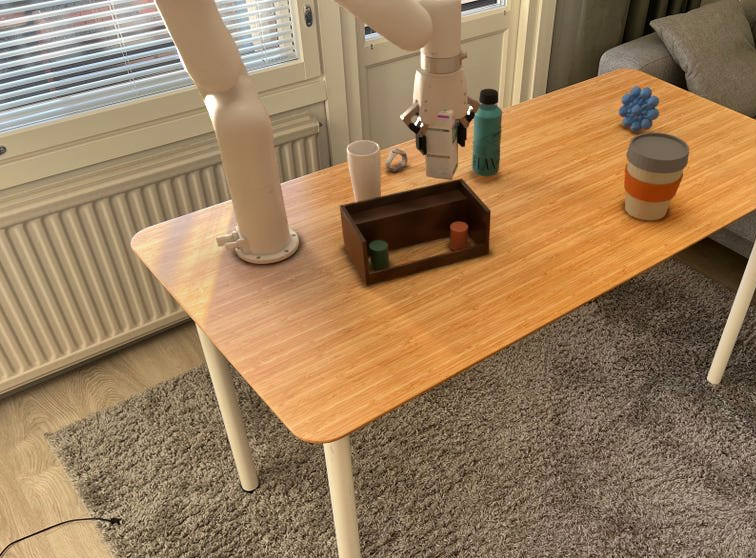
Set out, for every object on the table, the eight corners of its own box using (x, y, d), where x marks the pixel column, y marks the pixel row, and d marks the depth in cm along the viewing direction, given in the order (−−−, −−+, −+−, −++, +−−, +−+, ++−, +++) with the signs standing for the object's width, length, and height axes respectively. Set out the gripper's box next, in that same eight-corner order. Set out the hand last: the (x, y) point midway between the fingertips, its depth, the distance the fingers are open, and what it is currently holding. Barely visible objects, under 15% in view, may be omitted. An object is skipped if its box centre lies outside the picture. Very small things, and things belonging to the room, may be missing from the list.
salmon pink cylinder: (454, 253, 142) (454, 233, 139) (447, 243, 145) (447, 223, 141) (470, 249, 144) (471, 229, 140) (463, 239, 146) (463, 219, 143)
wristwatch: (410, 166, 167) (409, 147, 164) (392, 176, 164) (391, 156, 160) (400, 161, 169) (399, 142, 165) (381, 171, 165) (380, 151, 162)
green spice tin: (374, 273, 137) (372, 252, 134) (368, 263, 140) (366, 242, 136) (392, 269, 138) (390, 248, 135) (385, 259, 141) (384, 238, 137)
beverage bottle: (467, 179, 163) (468, 94, 150) (477, 166, 168) (480, 82, 154) (493, 185, 162) (497, 100, 148) (503, 171, 166) (508, 88, 152)
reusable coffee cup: (685, 209, 156) (702, 145, 145) (654, 232, 149) (670, 167, 139) (637, 188, 162) (650, 126, 151) (605, 209, 155) (616, 145, 145)
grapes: (663, 135, 181) (673, 88, 173) (646, 143, 178) (656, 96, 169) (627, 119, 187) (635, 74, 179) (611, 126, 184) (618, 81, 176)
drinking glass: (390, 208, 154) (386, 144, 144) (374, 223, 150) (369, 158, 139) (363, 200, 156) (357, 137, 146) (347, 215, 152) (339, 151, 141)
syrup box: (452, 180, 146) (453, 112, 136) (424, 177, 147) (423, 109, 137) (458, 167, 150) (459, 100, 140) (431, 164, 151) (430, 97, 141)
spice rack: (366, 285, 134) (361, 241, 128) (344, 248, 143) (339, 205, 136) (488, 253, 143) (490, 210, 136) (461, 220, 151) (461, 178, 144)
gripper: (474, 47, 137) (472, 132, 150) (389, 61, 132) (395, 148, 144) (491, 61, 133) (487, 148, 145) (404, 76, 127) (408, 165, 139)
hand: (441, 147), depth 144 cm, fingers closed on syrup box, 8 cm apart
